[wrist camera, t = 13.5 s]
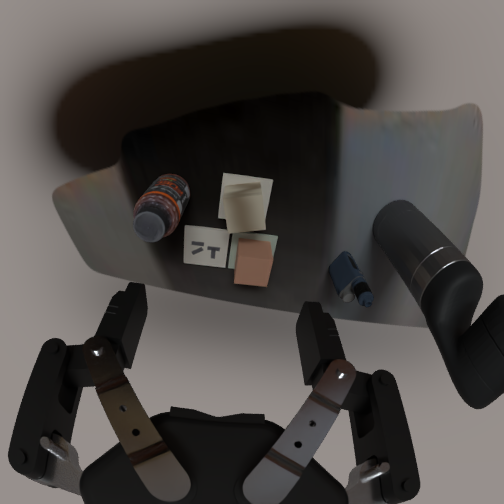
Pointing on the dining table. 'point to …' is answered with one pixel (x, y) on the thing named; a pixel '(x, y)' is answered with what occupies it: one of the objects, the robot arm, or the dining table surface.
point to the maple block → (244, 207)
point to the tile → (240, 179)
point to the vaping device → (350, 280)
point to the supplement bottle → (161, 208)
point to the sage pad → (249, 236)
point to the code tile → (205, 246)
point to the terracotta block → (253, 262)
